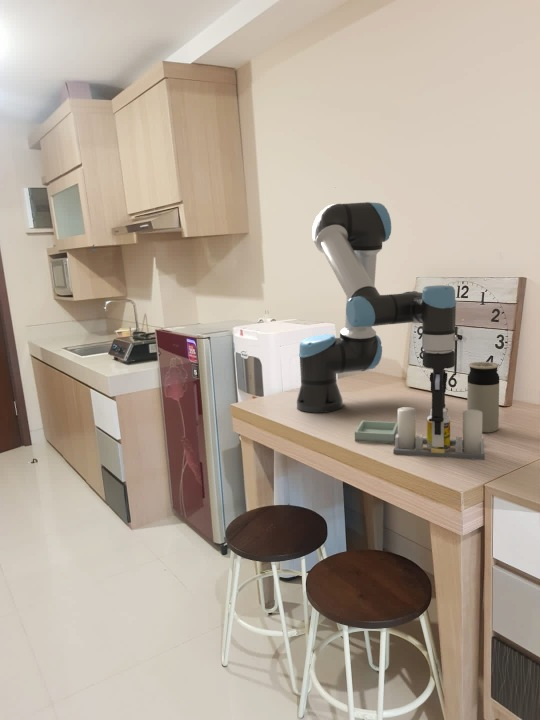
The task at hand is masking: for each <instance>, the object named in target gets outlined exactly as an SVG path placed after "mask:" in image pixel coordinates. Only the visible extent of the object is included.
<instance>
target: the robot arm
mask: <svg viewBox="0 0 540 720" xmlns="http://www.w3.org/2000/svg"><path fill="white" fill-rule="evenodd" d="M311 230H312V231H311V232H312V233H311V234H312V240H313V242H314V245H315V246H316V248H317V250H318V251H319V252H320V253H323V254H324V256H325V258H326V259H327V261H328V265H330V267H331V270H332V271H333V273H334V275H335V277H336V279H337V281H338V283H339V284H340V286H341V289H342V290H343V292H344V294H345V296H346V298H345V299H346V300H345V302H346V303H345V306H346V307H345V320H344V321H345V323H344V324H345V325H344V327H342V328H341V329H340V332H339V337H336V335H334V334H331V333H327V334H326V333H325V334H318V335H317V334H316V335H313V336H309V337H307V338H304V339H303V340H301V342H300V343H299V354H298V355H299V366H300V367H299V368H300V387H299V391H298V393H297V399H296V408H297V409H298V410H299V411H302V412H306V413H307V412H308V413H329V412H330V413H331V412H334V411H338V410H340V409H341V408H343V404H344V403H343V400H344V399H343V396H342V393H341V391H340V389H339V386H338V382H337V374H343V373H344V374H345V373H353V372H365V371H369V370H373V369H375V368H376V367H377V366H378V365H379V364H380V361H381V359H382V356H383V355H382V354H383V346H382V341H381V337H380V336H378V335H377V331H376V330H375V329H374V328H373V327H376V326H377V327H378V326H379V327H380V326H387V325H397V324H407V323H408V324H409V323H419V324H420V323H421V325H422V332H421V336H422V337H421V341H422V342H421V343H422V345H421V347H422V349H423V350H424V351H423V352H422V366H423V367H424V368H427V369H432V372H430V375H429V382H430V393H431V408H432V417H431V419H429V421H432V446H434V447H444V418H443V408H445V409H447V413H448V411H449V409H448V408H446V397H445V396H446V391H447V390H446V389H447V382H448V372H446V369H452V368H453V367H455V366H456V365H455V364H456V352H455V351H454V350H455V349H456V341H458V340H459V338H458V336H456V313H457V311H456V310H457V307H456V306H457V300H456V289H455V288H454V286H452V285H443V284H442V285H440V284H439V285H428V286H424V287H423V289H422V292H418V291H416V290H415V291H405V292H403V293H402V292H401V293H394V294H392V293H391V294H380V293H379V291H378V290H377V288H376V286H375V283H376V270H377V269H376V268H377V267H376V266H377V255H378V254H379V252H381V251H382V250H383V243H385V242H387V241H388V240H389V239H390V236H391V233H392V221H391V217H390V213H389V211H388V209H387V208H386V207H385V205H384V204H382V203H380V202H372V201H371V202H370V201H366V202H351V203H349V202H348V203H334V204H333V203H332V204H330V205H327V206H326V207H325V208H324V209H322V210H321V211H320V212H319V214H318V215H317V216H316V217H315V220H314V222H313V225H312V229H311Z"/></svg>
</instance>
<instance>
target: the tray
mask: <svg viewBox="0 0 540 720" xmlns="http://www.w3.org/2000/svg"><path fill="white" fill-rule="evenodd" d="M360 421H361V422H360V423H359V425H358V426H357V428H356V429H355V430H354V441H355V442H364V443H365V442H366V443H378V444H379V443H380V444H395V437H396V434H398V421H395V422H394V421H378V420H377V421H376V420H375V421H374V420H360Z"/></svg>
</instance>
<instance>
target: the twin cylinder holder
mask: <svg viewBox="0 0 540 720" xmlns="http://www.w3.org/2000/svg"><path fill="white" fill-rule="evenodd" d="M396 410H397V413H396V414H397V422H398V434H396V437H395V441H394V446H395V447H394V448H393V450H392V451H393V455H406V456H421V457H433V458H434V457H435V458H436V457H437V458H449V459H450V458H452V459H464V460H481V461H485V438H483V433H482V412H481V411H479V410H467V409H465V410H463V411H462V437H461V436H460V437H459V436H456V437H455V439H450V446H455V451H445V449H435V448H432V449H431V450H429V449H427V450H424V449H423V447H424V444H427V437H424V435H422V434H416V433H417V430H416V428H417V427H416V419H417V418H416V417H417V416H416V408H414V407H410V406H409V407H408V406H403V407H399V408H397V409H396Z"/></svg>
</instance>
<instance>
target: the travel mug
mask: <svg viewBox="0 0 540 720" xmlns="http://www.w3.org/2000/svg"><path fill="white" fill-rule="evenodd" d="M468 367H469V369H470V371H469V373H468V375H467V397H466V398H467V401H466V402H467V403H466V405H467V408H466V410H479V411H481V412H482V434H486V433H494V432H496V431H497V430H499V422H500V421H499V415H500V414H499V411H500V410H499V409H500V375H499V373H498V368H499V364H498V363H496V362H492V361H474V362H471V363H468Z"/></svg>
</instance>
